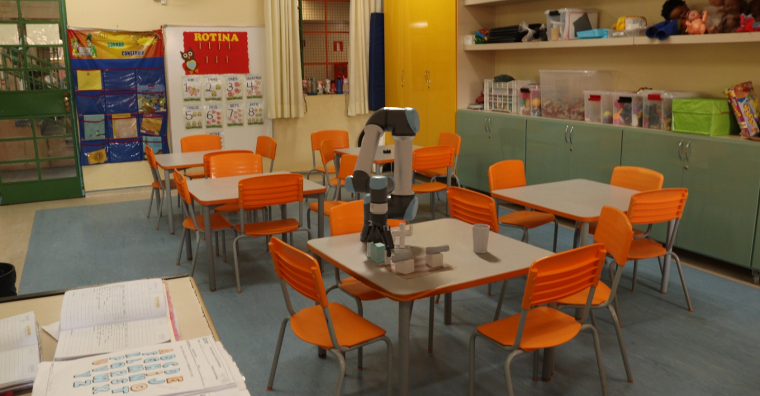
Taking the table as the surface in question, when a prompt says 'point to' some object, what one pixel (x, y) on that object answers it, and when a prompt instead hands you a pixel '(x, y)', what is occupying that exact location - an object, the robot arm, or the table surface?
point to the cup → (480, 237)
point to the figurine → (402, 238)
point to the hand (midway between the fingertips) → (378, 260)
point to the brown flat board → (417, 268)
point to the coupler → (377, 252)
